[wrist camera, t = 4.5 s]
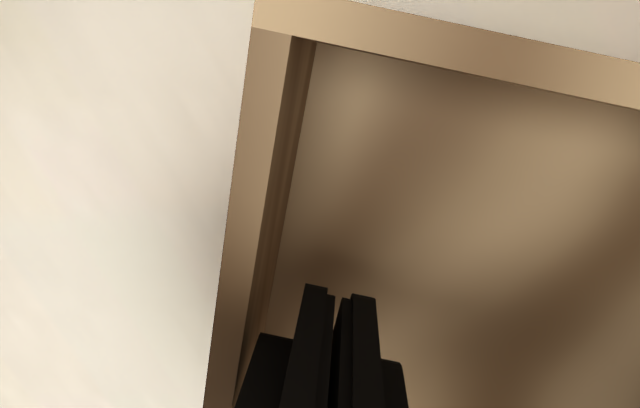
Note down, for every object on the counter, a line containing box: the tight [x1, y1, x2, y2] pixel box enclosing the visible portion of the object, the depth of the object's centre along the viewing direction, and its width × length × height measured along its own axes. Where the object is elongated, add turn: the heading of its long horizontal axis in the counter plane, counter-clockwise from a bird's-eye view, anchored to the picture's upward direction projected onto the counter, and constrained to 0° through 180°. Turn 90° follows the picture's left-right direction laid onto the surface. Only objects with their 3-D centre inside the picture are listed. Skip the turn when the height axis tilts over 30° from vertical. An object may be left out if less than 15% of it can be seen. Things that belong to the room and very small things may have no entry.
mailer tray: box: [203, 0, 640, 408], centre depth 11 cm, size 19×14×5 cm
